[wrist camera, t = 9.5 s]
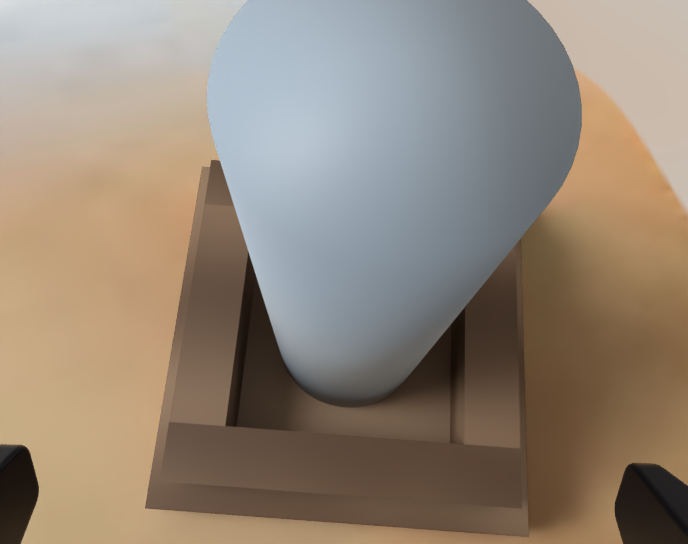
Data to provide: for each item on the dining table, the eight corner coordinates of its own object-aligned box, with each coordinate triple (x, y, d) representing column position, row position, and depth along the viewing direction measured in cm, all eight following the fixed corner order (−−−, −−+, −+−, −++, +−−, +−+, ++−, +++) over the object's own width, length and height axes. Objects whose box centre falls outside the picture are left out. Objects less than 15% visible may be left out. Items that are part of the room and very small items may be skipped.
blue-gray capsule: (416, 412, 18) (594, 281, 6) (271, 402, 18) (178, 249, 6) (420, 275, 20) (570, -39, 8) (286, 265, 20) (233, -67, 8)
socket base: (512, 532, 18) (553, 544, 15) (159, 505, 18) (122, 512, 15) (506, 209, 22) (538, 162, 19) (210, 186, 22) (189, 135, 19)
